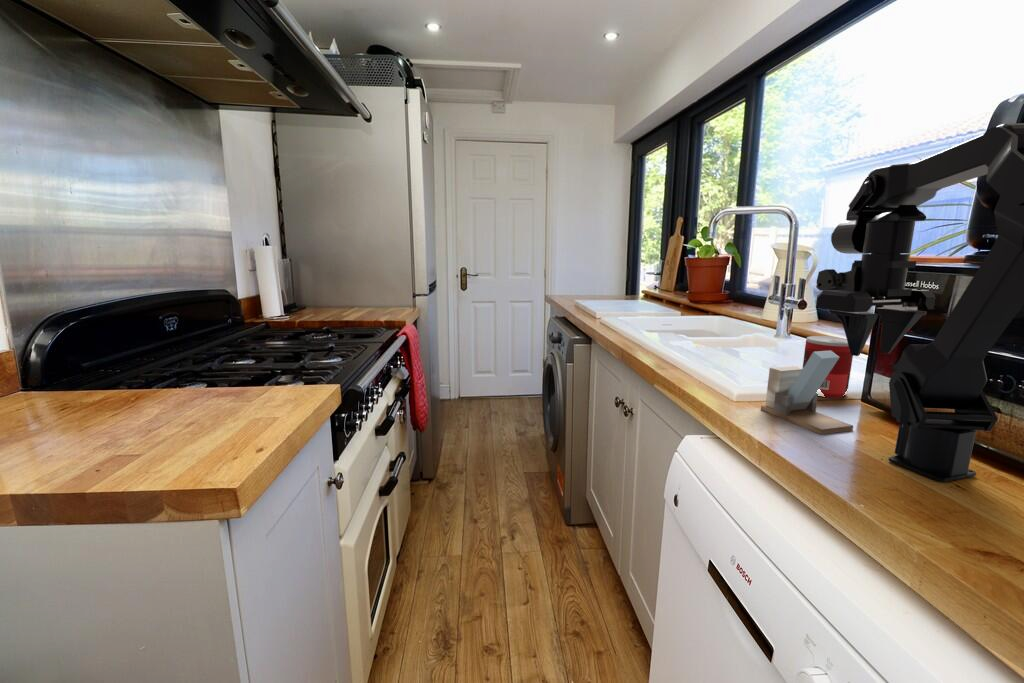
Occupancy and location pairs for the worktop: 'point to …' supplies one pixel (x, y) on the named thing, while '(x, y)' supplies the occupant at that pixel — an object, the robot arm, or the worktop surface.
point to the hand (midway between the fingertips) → (870, 354)
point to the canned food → (841, 370)
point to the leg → (811, 378)
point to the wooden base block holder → (781, 402)
